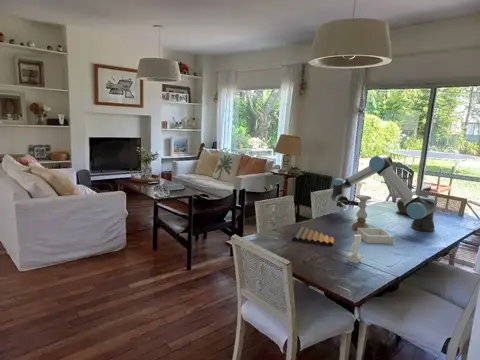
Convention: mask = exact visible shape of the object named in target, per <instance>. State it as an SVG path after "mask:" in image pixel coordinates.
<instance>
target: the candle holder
mask: <svg viewBox="0 0 480 360" xmlns="http://www.w3.org/2000/svg"><path fill="white" fill-rule="evenodd" d="M355 199H358V200H359V202H360V204H359V207H358V208H359V210H358V211H357V213H356V217H357V219H356V222H353V223H352V224H351V228H352V231H353V232H357V228H370V227H369V225H368V223H366V222H367V220H366V219H367V217H368V213H367V211H366V208H367V204H366V202H368V200H371V199H372V197H371V196H370V195H365V194H364V195H363V194H359V195H356V196H355Z"/></svg>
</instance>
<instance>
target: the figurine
mask: <svg viewBox="0 0 480 360" xmlns="http://www.w3.org/2000/svg"><path fill="white" fill-rule="evenodd" d="M361 244H362V235H360V234H358V235H357V234H354V235H353V242H352V243H351V247H350V252H348V253H347V254H346V258H347V260H348V261H349V262H351V263H354V264H359V263H360V262H361V260H362V259H363V257H365V256H364V255H365V254H362V253H360V252H359V249H360V248H359V247H360V245H361Z"/></svg>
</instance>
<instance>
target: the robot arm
mask: <svg viewBox="0 0 480 360" xmlns="http://www.w3.org/2000/svg"><path fill="white" fill-rule="evenodd" d="M393 164H394V163H393V159H392V157H391V156H390V155H388V154H380V155H379V154H377V155H373V156H372V157H371V158H370V160H369V164H368V166H366V167H364V168H363V169H361V170H359V171H357V172H355V173H354V174H352V175H350V176H349V177H347V178H344V179H343V178H338V177H337V178H334V179H333V185H332V192H331V193H330V199H331V200H332V201H333V202H335V203H336V207H339V208H343V209H344V210H346V209H347V206H355V207H358V208H360V207H359V204H360V201H355V200H353V199H352V200H350V199H348V197H346V196H345V195H344V194H343V190H345V189H350V188H352V187H353V186H354V185H356V184H358V183H360V182H362V181H364V180H366V179H368V178H369V177H371V176H373V175H375V174H377V175H378V176H379V177H382V178H383V179H384V180H385V181H386V183H388V185H389V186H390V188H391V189H393V191H394V192H395V193H396V195H397V196H398V197H399V199H402V200H403V202H404V206H405V208H406V209H407V213H408V214H407V215H408V216H409V217H410V218H411V219H412V222H411V225H410V227H411V228H412V229H413V230H416V231H419V232H426V233H427V232H434V231H435V224H434V213H435V209H436V208H435V206H436V200H435V199H434V198H430V197H425V196H423V197H419V196H420V195H415V194H414V193H413V192H412V190H411V189H410V188H409V187H408V186H407V184H406V183H405V182H404V181H403V179H402V178H401V177H400V176H399V175H398V173H396V171H395V170H394V166H393Z"/></svg>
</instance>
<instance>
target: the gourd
mask: <svg viewBox="0 0 480 360" xmlns="http://www.w3.org/2000/svg"><path fill="white" fill-rule="evenodd" d="M418 196H419V197H424V196H423V195H418ZM396 207H397V210H398V211H399V212H400V213H402V214H403V215H408V213H407V209H406V208H405V206H404V202H403V200H402V199H401V198H399V199H398V200H397V203H396Z"/></svg>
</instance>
